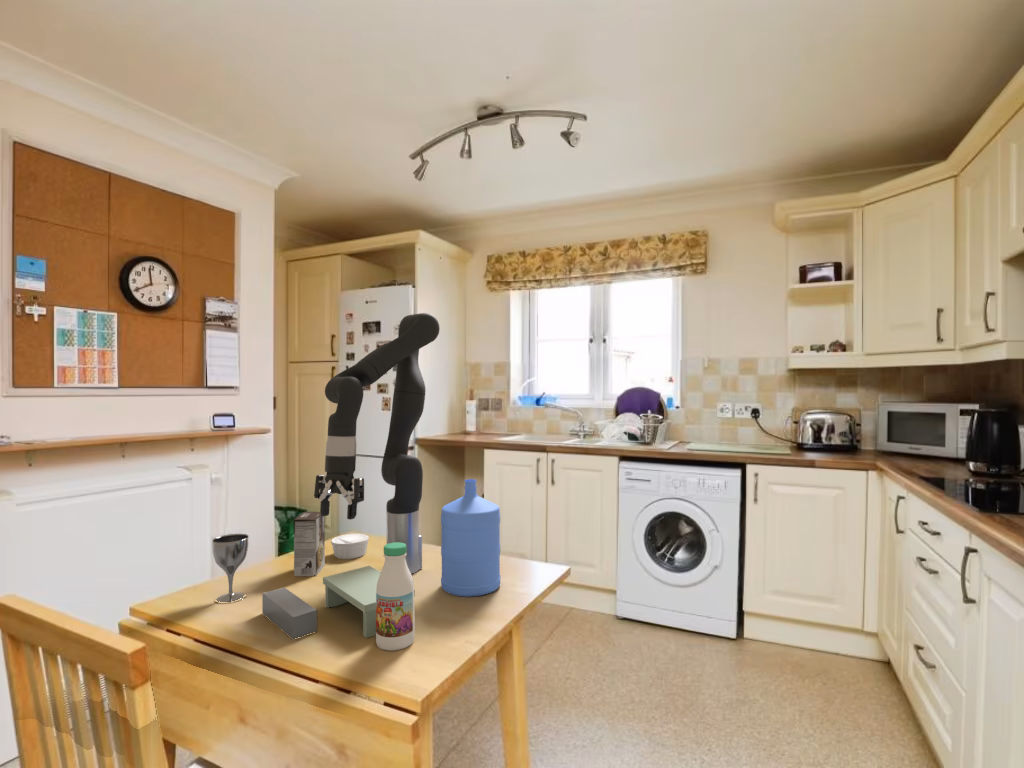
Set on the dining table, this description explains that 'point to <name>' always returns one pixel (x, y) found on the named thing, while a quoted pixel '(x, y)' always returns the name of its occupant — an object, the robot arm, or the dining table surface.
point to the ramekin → (350, 546)
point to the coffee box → (309, 544)
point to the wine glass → (230, 559)
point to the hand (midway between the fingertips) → (337, 517)
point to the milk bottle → (395, 600)
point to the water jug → (470, 545)
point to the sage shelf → (355, 593)
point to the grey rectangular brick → (289, 612)
